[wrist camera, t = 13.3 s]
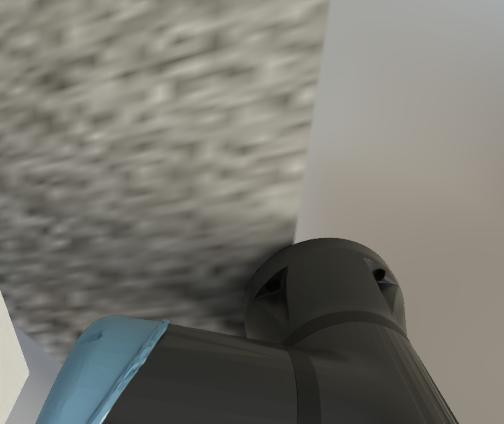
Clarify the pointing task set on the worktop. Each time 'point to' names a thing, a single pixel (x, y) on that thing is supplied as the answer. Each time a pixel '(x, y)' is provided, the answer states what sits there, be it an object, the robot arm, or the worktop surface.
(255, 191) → the worktop surface
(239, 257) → the worktop surface
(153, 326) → the robot arm
